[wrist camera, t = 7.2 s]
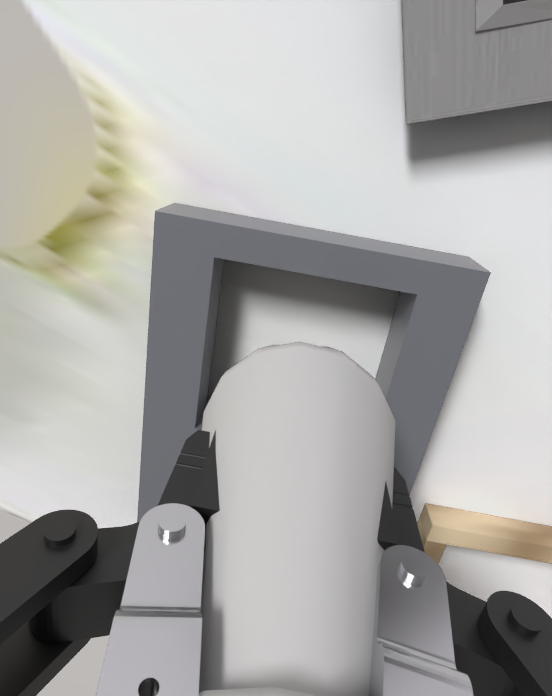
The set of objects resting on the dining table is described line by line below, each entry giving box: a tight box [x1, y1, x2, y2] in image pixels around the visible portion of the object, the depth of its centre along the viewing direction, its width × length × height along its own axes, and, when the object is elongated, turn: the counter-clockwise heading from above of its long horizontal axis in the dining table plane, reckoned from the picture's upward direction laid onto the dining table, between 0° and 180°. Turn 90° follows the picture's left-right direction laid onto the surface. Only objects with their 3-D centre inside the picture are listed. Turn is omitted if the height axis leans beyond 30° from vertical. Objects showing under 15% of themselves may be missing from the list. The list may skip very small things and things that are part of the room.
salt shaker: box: [199, 342, 395, 696], centre depth 10 cm, size 6×6×13 cm
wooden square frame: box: [417, 503, 552, 564], centre depth 25 cm, size 11×11×2 cm
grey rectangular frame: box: [137, 203, 491, 522], centre depth 21 cm, size 12×18×3 cm, turn 170°
